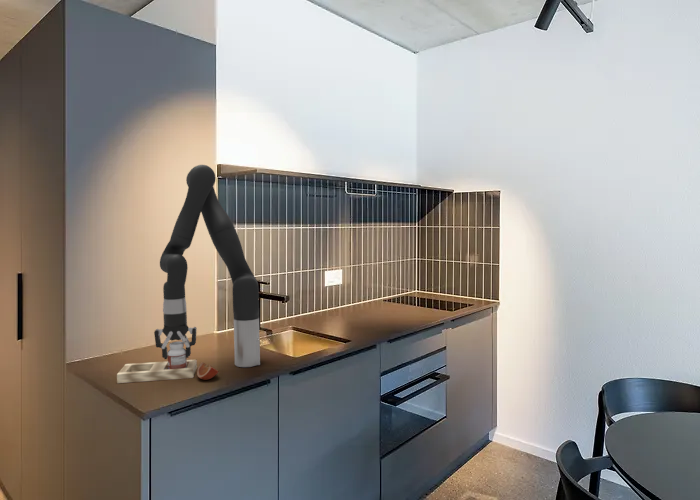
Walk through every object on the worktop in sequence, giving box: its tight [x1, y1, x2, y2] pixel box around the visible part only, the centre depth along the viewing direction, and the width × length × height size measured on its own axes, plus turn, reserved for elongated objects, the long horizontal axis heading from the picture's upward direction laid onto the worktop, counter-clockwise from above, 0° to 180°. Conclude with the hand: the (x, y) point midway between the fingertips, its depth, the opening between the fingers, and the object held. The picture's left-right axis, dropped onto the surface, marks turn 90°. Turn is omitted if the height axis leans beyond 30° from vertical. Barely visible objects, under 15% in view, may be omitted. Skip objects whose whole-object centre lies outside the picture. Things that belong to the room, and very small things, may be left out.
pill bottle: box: [167, 340, 188, 369], centre depth 163 cm, size 6×6×11 cm
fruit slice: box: [196, 361, 219, 381], centre depth 159 cm, size 8×7×5 cm
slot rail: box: [116, 359, 198, 384], centre depth 162 cm, size 24×11×3 cm, turn 102°
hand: (176, 357), depth 163 cm, fingers open, 6 cm apart
